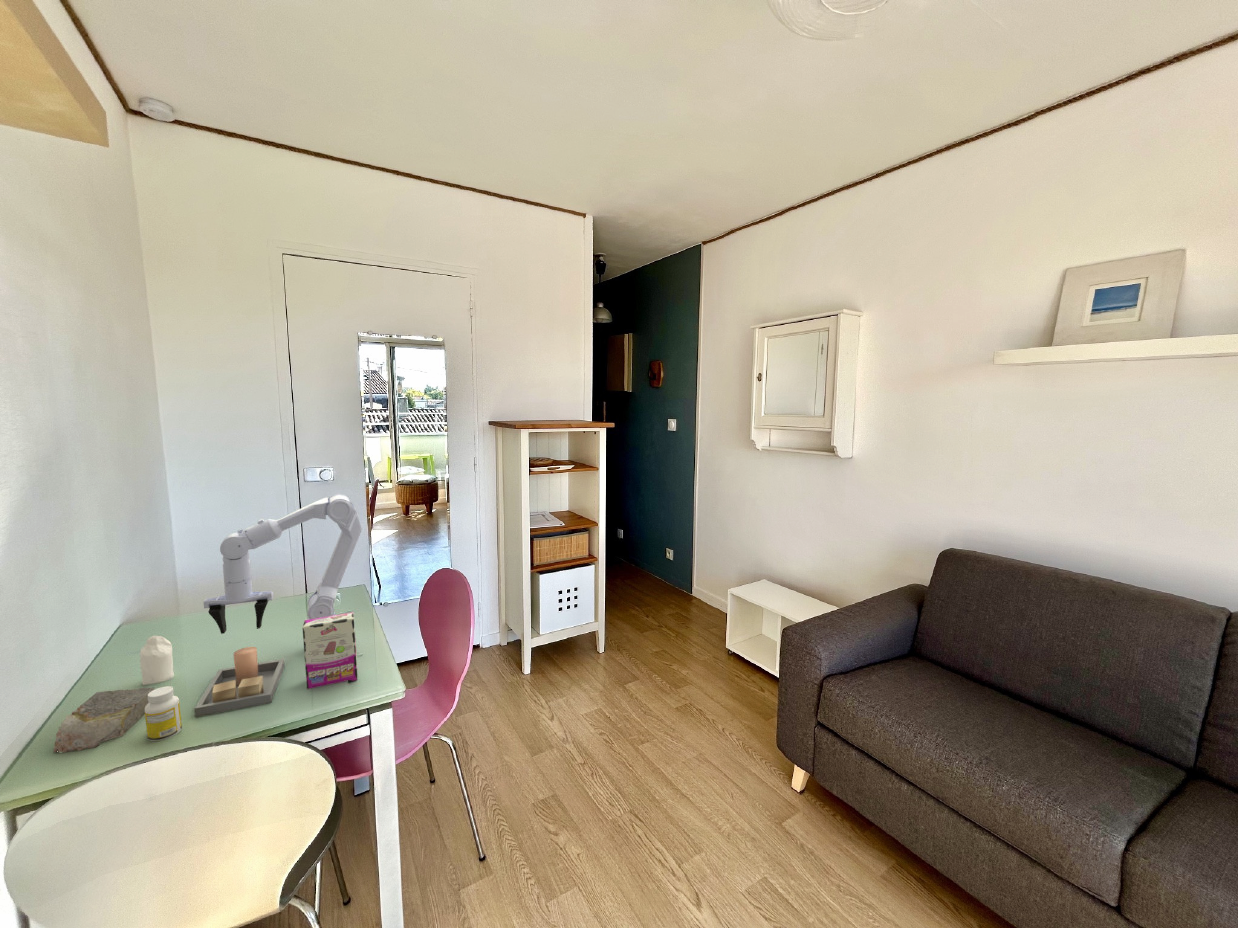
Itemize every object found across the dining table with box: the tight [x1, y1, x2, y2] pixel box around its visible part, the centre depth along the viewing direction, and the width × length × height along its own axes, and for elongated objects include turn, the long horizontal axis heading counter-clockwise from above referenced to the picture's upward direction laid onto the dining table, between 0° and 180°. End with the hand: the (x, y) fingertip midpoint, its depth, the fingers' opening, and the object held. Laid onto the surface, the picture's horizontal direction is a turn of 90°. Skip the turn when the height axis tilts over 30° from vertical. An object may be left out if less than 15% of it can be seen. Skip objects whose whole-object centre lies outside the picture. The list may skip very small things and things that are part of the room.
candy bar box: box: [302, 611, 359, 690], centre depth 128 cm, size 11×5×16 cm, turn 117°
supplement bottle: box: [144, 685, 183, 742], centre depth 106 cm, size 5×5×10 cm
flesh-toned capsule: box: [233, 646, 259, 687], centre depth 126 cm, size 5×5×8 cm
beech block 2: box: [238, 676, 264, 698], centre depth 120 cm, size 4×4×4 cm
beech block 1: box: [212, 680, 237, 703], centre depth 117 cm, size 4×4×4 cm
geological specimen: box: [53, 687, 156, 753], centre depth 109 cm, size 11×6×15 cm
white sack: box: [139, 635, 175, 686], centre depth 127 cm, size 6×12×6 cm
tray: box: [194, 658, 286, 718], centre depth 123 cm, size 14×18×3 cm
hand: (241, 629), depth 134 cm, fingers open, 7 cm apart
